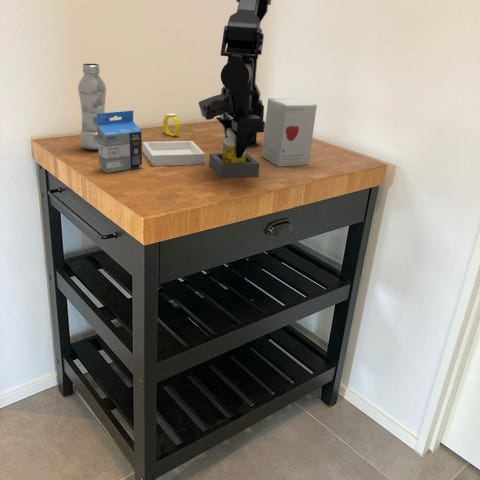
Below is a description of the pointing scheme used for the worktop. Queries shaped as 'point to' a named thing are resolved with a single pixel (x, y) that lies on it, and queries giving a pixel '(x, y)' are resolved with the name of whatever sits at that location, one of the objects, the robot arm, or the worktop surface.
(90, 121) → the plastic bottle
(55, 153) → the worktop surface
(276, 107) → the supplement box
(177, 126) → the watch
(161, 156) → the tray
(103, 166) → the label tape box
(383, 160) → the worktop surface
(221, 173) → the socket collar
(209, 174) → the worktop surface
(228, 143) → the supplement bottle
